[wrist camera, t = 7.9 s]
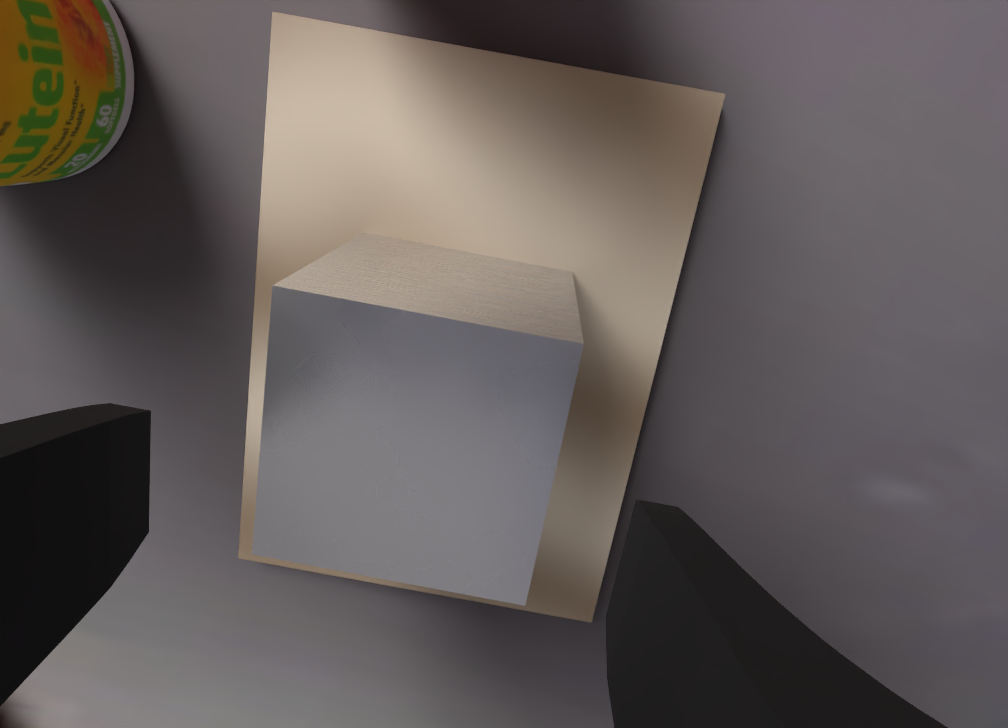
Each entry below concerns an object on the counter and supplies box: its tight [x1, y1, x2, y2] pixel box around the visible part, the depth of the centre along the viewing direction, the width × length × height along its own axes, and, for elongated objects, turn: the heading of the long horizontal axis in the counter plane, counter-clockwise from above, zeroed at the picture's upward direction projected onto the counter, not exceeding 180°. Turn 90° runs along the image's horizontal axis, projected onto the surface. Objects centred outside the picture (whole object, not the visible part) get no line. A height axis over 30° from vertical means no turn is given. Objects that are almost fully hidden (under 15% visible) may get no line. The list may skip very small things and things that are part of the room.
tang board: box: [238, 12, 725, 623], centre depth 17 cm, size 14×10×4 cm
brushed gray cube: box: [252, 233, 584, 606], centre depth 15 cm, size 5×5×6 cm
